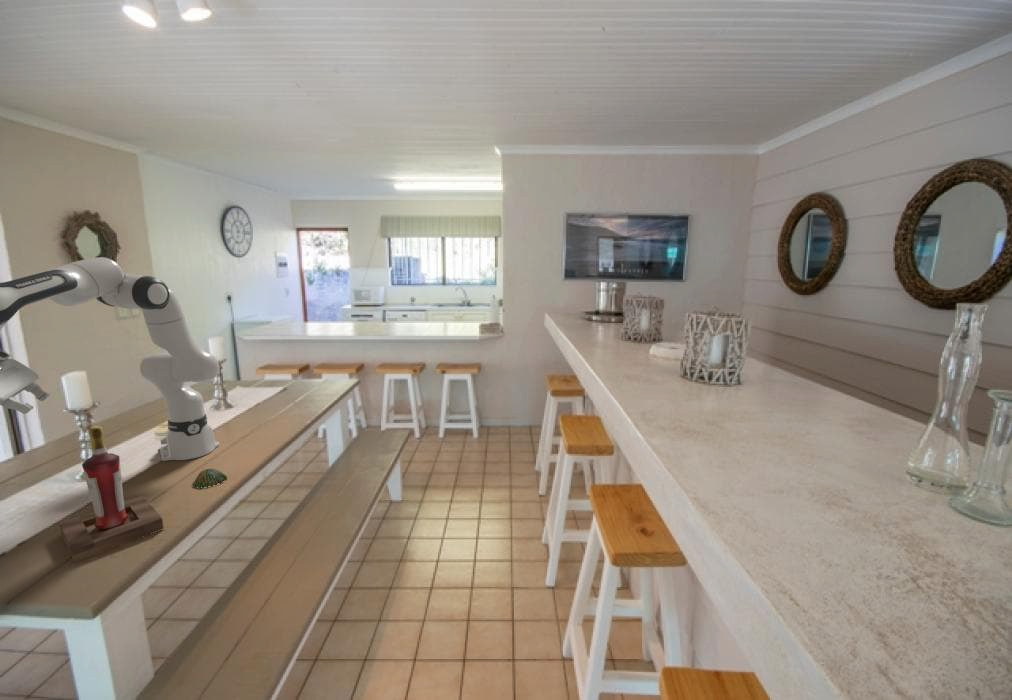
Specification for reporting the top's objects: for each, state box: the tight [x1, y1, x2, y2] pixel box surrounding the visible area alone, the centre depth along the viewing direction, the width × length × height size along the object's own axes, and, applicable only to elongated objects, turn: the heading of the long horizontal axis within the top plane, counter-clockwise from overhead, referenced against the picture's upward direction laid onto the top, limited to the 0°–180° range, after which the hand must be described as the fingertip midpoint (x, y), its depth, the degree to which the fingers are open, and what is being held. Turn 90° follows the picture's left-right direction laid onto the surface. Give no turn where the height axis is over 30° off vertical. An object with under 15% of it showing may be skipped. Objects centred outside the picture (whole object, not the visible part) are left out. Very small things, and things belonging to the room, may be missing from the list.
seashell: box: [191, 468, 228, 489], centre depth 149 cm, size 10×4×10 cm
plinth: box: [59, 495, 164, 564], centre depth 121 cm, size 18×18×4 cm
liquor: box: [81, 425, 128, 530], centre depth 118 cm, size 7×7×28 cm
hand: (38, 404), depth 111 cm, fingers open, 8 cm apart
